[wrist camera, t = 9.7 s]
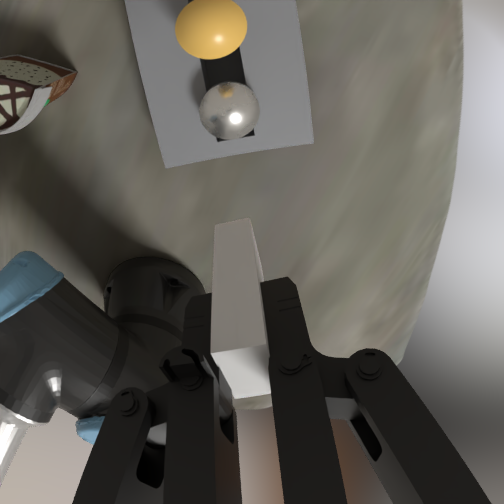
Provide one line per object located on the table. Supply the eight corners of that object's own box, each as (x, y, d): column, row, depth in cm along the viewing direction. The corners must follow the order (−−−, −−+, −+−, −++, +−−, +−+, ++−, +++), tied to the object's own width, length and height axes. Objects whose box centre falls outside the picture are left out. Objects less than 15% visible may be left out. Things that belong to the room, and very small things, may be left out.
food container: (-2, 98, 26) (-55, 123, 18) (10, 52, 23) (-46, 65, 15) (72, 125, 30) (25, 156, 22) (88, 75, 27) (40, 91, 19)
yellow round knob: (192, 62, 23) (182, 66, 19) (182, 13, 20) (169, 4, 16) (248, 52, 23) (252, 52, 18) (239, 2, 20) (241, -10, 15)
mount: (170, 151, 33) (159, 170, 28) (127, -40, 19) (108, -52, 15) (307, 127, 32) (320, 142, 28) (275, -69, 18) (283, -88, 14)
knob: (210, 127, 30) (205, 144, 25) (201, 82, 27) (193, 89, 22) (258, 119, 30) (263, 134, 25) (251, 73, 27) (254, 78, 22)
